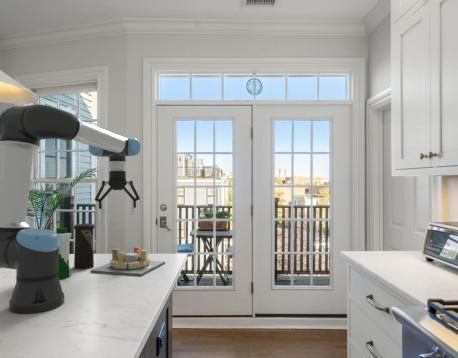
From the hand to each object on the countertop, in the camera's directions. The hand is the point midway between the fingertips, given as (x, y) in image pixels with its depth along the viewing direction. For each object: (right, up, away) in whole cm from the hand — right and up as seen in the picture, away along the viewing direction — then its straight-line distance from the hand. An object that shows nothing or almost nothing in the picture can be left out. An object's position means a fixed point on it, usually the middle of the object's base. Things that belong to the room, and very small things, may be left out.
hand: (117, 215), depth 165 cm
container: (-14, -23, -5) cm, 28 cm away
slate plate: (+7, -23, -6) cm, 25 cm away
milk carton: (-17, -23, -24) cm, 37 cm away
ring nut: (+7, -22, -6) cm, 24 cm away
